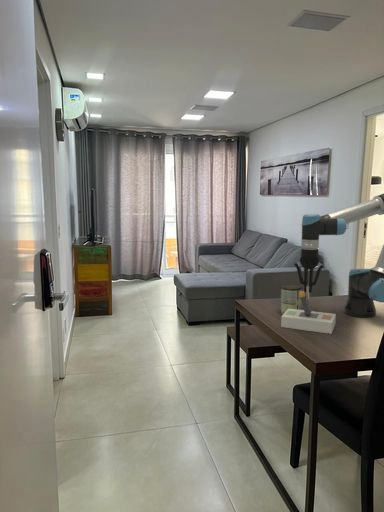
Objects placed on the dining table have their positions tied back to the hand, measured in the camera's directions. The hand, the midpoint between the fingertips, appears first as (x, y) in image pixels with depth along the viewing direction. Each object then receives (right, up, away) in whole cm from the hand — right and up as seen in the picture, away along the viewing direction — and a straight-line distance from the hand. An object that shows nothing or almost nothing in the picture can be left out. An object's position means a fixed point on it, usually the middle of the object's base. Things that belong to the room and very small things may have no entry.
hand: (307, 299), depth 176 cm
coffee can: (-2, -10, +22) cm, 24 cm away
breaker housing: (+1, -12, +2) cm, 13 cm away
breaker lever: (+1, -7, +1) cm, 7 cm away
